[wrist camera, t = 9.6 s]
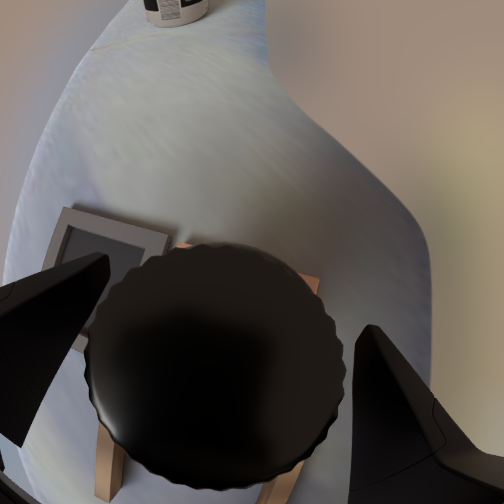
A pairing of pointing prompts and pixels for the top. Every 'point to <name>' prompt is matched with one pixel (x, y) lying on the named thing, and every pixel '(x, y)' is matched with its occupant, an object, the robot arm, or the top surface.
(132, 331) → the supplement bottle
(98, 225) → the trap pit
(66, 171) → the top surface
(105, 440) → the channel
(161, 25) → the supplement can
